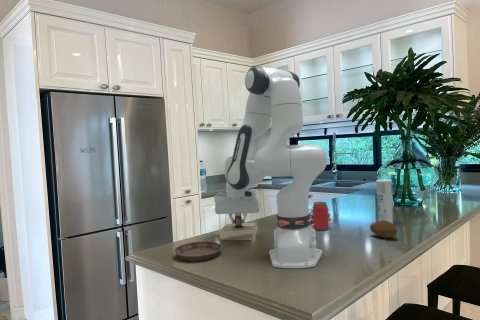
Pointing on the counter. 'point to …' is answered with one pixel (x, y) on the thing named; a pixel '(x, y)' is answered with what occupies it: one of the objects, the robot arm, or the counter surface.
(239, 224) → the grey and gold cylinder
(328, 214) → the candy landscape model
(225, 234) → the block
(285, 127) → the robot arm
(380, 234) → the potato
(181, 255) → the plant saucer
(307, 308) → the counter surface
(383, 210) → the spray can
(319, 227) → the beer can
